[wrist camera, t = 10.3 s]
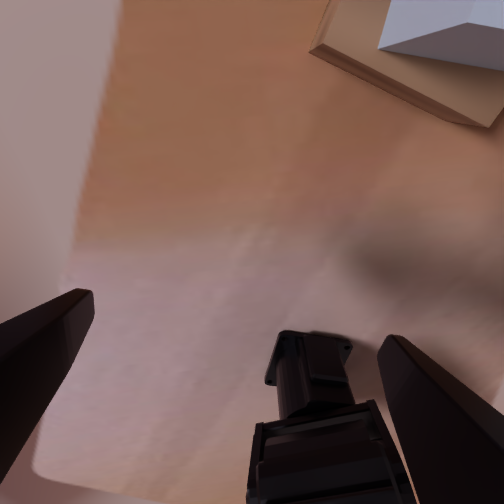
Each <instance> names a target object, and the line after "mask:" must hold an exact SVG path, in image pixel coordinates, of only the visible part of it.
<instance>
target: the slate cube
mask: <svg viewBox="0 0 504 504" xmlns="http://www.w3.org/2000/svg"><path fill="white" fill-rule="evenodd" d="M378 49H379V50H385V51H391V52H397V53H402V54H408V55H414V56H420V57H425V58H431V59H437V60H442V61H448V62H454V63H460V64H465V65H471V66H477V67H483V68H488V69H494V70H500V71H504V0H391V3H390V7H389V10H388V14H387V17H386V21H385V24H384V28H383V31H382V35H381V38H380V42H379V45H378Z"/></svg>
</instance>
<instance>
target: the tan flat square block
mask: <svg viewBox="0 0 504 504" xmlns="http://www.w3.org/2000/svg"><path fill="white" fill-rule="evenodd" d="M390 3H391V0H329V3H328V5H327V7H326V10H325V12H324V15H323V17H322V20H321V22H320V25H319V27H318V29H317V32H316V34H315V37H314V39H313V42H312V44H311V47H310V49H309V51H308V52H309V53H311V54H313V55H315V56H317V57H319V58H321V59H323V60H325V61H327V62H329V63H331V64H333V65H335V66H337V67H339V68H341V69H343V70H345V71H347V72H349V73H351V74H353V75H355V76H357V77H359V78H361V79H363V80H365V81H367V82H369V83H371V84H373V85H375V86H377V87H379V88H381V89H383V90H385V91H387V92H389V93H391V94H393V95H395V96H397V97H399V98H401V99H403V100H405V101H407V102H409V103H411V104H413V105H415V106H417V107H419V108H421V109H423V110H425V111H427V112H429V113H431V114H433V115H435V116H437V117H439V118H441V119H443V120H445V121H450V122H456V123H462V124H468V125H474V126H480V127H487V128H489V127H490V125H491V124H492V122H493V121H494V120H495V118H496V117H497V116H498V114H499V113H500V111H501V110H502V109H503V107H504V71H500V70H494V69H488V68H483V67H477V66H471V65H465V64H460V63H454V62H448V61H442V60H437V59H431V58H425V57H420V56H414V55H408V54H402V53H397V52H391V51H385V50H379V49H378V45H379V42H380V38H381V35H382V31H383V28H384V24H385V21H386V17H387V14H388V10H389V7H390Z"/></svg>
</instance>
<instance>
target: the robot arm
mask: <svg viewBox="0 0 504 504" xmlns="http://www.w3.org/2000/svg"><path fill="white" fill-rule="evenodd" d="M94 314H95V310H94V297H93V292H92V291H91V290H87V289H80V288H76V289H73V290H71V291H69V292H67V293H65V294H63V295H61V296H58V297H56V298H54V299H52V300H50V301H48V302H46V303H44V304H41V305H39V306H37V307H35V308H33V309H31V310H29V311H27V312H25V313H22V314H20V315H18V316H16V317H14V318H12V319H10V320H7V321H5V322H3V323H1V324H0V484H1V483H2V481H3V479H4V478H5V476H6V474H7V473H8V471H9V469H10V467H11V466H12V464H13V463H14V461H15V460H16V458H17V456H18V455H19V453H20V451H21V450H22V448H23V446H24V445H25V443H26V441H27V440H28V438H29V436H30V435H31V433H32V431H33V430H34V428H35V427H36V425H37V423H38V422H39V420H40V418H41V417H42V415H43V413H44V412H45V410H46V408H47V407H48V405H49V403H50V402H51V400H52V398H53V397H54V395H55V394H56V392H57V390H58V389H59V387H60V385H61V384H62V382H63V380H64V379H65V377H66V375H67V374H68V372H69V370H70V368H71V366H72V364H73V362H74V360H75V358H76V356H77V354H78V352H79V349H80V347H81V345H82V343H83V341H84V339H85V336H86V334H87V332H88V330H89V328H90V326H91V324H92V321H93V319H94ZM283 337H285V338H283ZM352 348H353V346H352V343H351V341H349V340H344V339H337V338H330V337H323V336H316V335H309V334H302V333H295V332H288V331H282V332H280V333H279V334H278V337H277V340H276V343H275V347H274V350H273V353H272V356H271V359H270V362H269V365H268V368H267V372H266V375H265V384H266V385H270V386H277V395H278V406H279V417H280V420H277V421H273V422H268V423H263V422H261V423H256V427H255V435H254V436H253V443H252V451H251V459H250V467H249V475H248V483H247V493H246V504H417V502H416V499H415V496H414V493H413V490H412V487H411V484H410V481H409V478H408V476H407V473H406V470H405V468H404V465H403V462H402V460H401V457H400V455H399V453H398V450H397V448H396V446H395V444H394V441H393V439H392V437H391V435H390V433H389V431H388V428H387V426H386V424H385V422H384V420H383V418H382V415H381V413H380V411H379V409H378V407H377V404H376V402H375V400H374V399H372V400H367V401H366V402H365V403H360V404H356V403H355V400H354V397H353V394H352V391H351V388H350V385H349V382H348V376H347V373H346V371H345V368H344V365H345V363H346V361H347V359H348V356H349V354H350V352H351V350H352ZM377 360H378V365H379V369H380V374H381V378H382V383H383V387H384V392H385V396H386V400H387V404H388V408H389V411H390V415H391V418H392V421H393V424H394V427H395V430H396V433H397V436H398V439H399V442H400V445H401V448H402V451H403V454H404V457H405V460H406V463H407V466H408V469H409V472H410V475H411V478H412V481H413V484H414V488H415V491H416V494H417V497H418V500H419V503H420V504H504V415H502V414H501V413H500V412H498V411H497V410H496V409H495V408H493V407H492V406H491V405H490V404H488V403H487V402H486V401H485V400H483V399H482V398H481V397H479V396H478V395H477V394H476V393H474V392H473V391H472V390H471V389H469V388H468V387H467V386H465V385H464V384H463V383H462V382H460V381H459V380H458V379H457V378H455V377H454V376H453V375H451V374H450V373H449V372H448V371H446V370H445V369H444V368H443V367H441V366H440V365H439V364H437V363H436V362H435V361H434V360H432V359H431V358H430V357H429V356H427V355H426V354H425V353H424V352H422V351H421V350H420V349H418V348H417V347H416V346H415V345H413V344H412V343H411V342H410V341H408V340H407V339H406V338H404V337H403V336H400V335H393V334H390V335H388V336H387V337H386V339H385V340H384V342H383V344H382V346H381V348H380V349H379V351H378V354H377Z"/></svg>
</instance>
